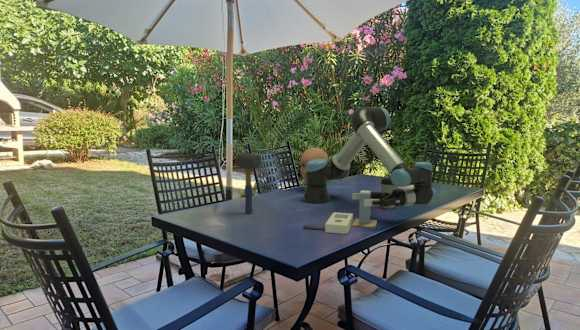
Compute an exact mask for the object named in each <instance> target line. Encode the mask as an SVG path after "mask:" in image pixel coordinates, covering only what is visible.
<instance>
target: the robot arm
mask: <svg viewBox="0 0 580 330" xmlns="http://www.w3.org/2000/svg"><path fill="white" fill-rule="evenodd" d="M349 118H350V120H349V122H350V126H351V129H352V130H353V133H352V135H351V136H350V137H349V138H348V140H347V141H346V142H345V144H344V145H343V146H342V148H340V151H339V152H338V153H337V154H334V155H333V156H331V158H330V159H328V161H327V160H326V159H314V160H310V161H308V162H307V166H306V183H305V184H306V186H305V190H304V193H303V198H302V199H303V202H305V203H309V204H324V203H329V202H330V201H331V199H330V198H331V197H330V193H329V191H328V188H327V187H328V182H331V181H340V180H341V181H342V180H343V179H346V178H347V177H348V176H349V174H350V171H351V170H350V169H351V163H352V161H353V160H354V159H355V158H356V156H357V155H358V154H359V153H360V152H361V150H362V149H363V148H364V146H365V145H367V146H368V147H369V148H370V150H371V151H372V152H373V153H374V155H375V157H377V159H378V160H379V161H380V162H381V163H382V165H383V166H384V167H385V168H386V170H388V173H390V178H391V182H392V183H393V184H394V185H395V186H397V188H396V189H395V190H393V192H392V194H390V193H387V192H380V191H379V192H378V191H376V192H375V191H371V199H370V200H364V206H371V207H379V206H380V207H382V208H383V207H387V206H391V205H395V207H406V206H407V207H410V206H423V205H425V206H427V205H433V204H435V203H436V202H437V199H438V194H437V190H436V189H435V188H434V187H432V185H433V184H432V182H433V164H432V162H428V161H417V162H415V163H414V167H408V165H407V163H405V162H404V161H403V160H402V158H401V157H400V156H399V155H398V153H397V152H396V151H395V150H394V149H393V148H392V146H391V145H390V144H389V143H388V142H387V141H386V139H385V138H384V137H383V136H382V135H381V134H380V131H384V130H386V129H389V127H390V124H391V115H390V112H389V111H388V110H387V109H386V108H385V107H380V106H377V107H376V106H375V107H374V106H373V107H371V106H370V107H369V106H368V107H367V106H361V107H358V108H356V109H355V110H354V111H353V112H352V113H351V115H350V117H349ZM409 185H414V188H413V189H400V188H398V187H406V186H409ZM351 198H352V199H351V200H353V201H354V200H360V192H357V193H355V192H353V193H352V197H351Z"/></svg>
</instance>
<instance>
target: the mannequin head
mask: <svg viewBox="0 0 580 330" xmlns="http://www.w3.org/2000/svg"><path fill="white" fill-rule="evenodd" d="M314 159H326V160H327V161H329V158H328V154H327V153H326V151H324V149H322V148H320V147H310V148H307V149H305V150H304V152H302V154H301V157H300V160H299V161H300V173H301V177H302V178H303V182H304V183H305V184H306V166H307V162H308V161H310V160H314Z"/></svg>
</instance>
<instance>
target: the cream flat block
mask: <svg viewBox="0 0 580 330" xmlns="http://www.w3.org/2000/svg"><path fill="white" fill-rule="evenodd" d="M353 222H354V213H350V212H335V211H334V212H332V214H331V215H330V217H329V218H328V220H327V221H326V222H325V224H324V226H314V225H303V226H302V228H303V229H308V230H319V231H320V230H321V231H324V233H326V234H327V233H329V234H330V233H331V234H341V235H342V234H343V235H348V233H349V231H350V228H351V227H352V224H353Z"/></svg>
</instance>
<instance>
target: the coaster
mask: <svg viewBox="0 0 580 330" xmlns="http://www.w3.org/2000/svg"><path fill="white" fill-rule="evenodd" d="M377 223H378V220H377V219H376V220H375V219H370V224H360V223H359V218H353V222H352V225H351V227H362V228H373V229H376V226H377Z"/></svg>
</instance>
